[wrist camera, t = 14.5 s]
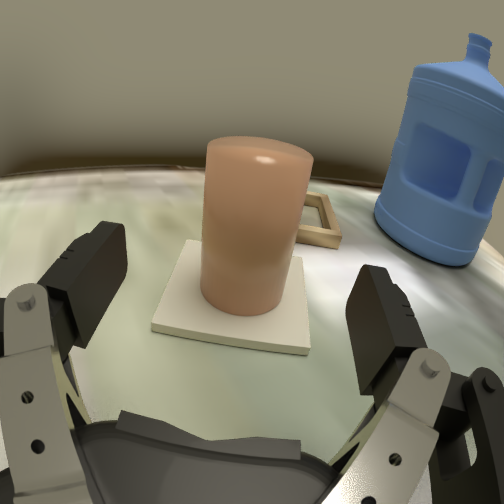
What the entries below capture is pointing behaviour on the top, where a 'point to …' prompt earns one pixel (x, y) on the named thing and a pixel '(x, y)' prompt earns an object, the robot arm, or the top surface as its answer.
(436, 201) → the water jug
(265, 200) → the pillar candle
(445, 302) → the top surface
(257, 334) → the mat
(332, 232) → the wooden frame
